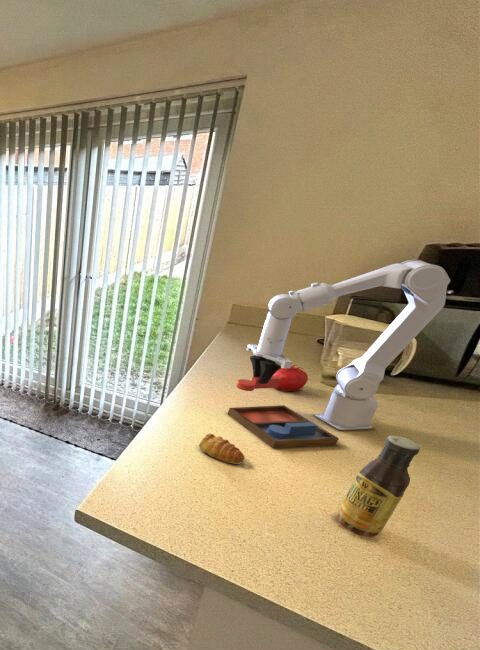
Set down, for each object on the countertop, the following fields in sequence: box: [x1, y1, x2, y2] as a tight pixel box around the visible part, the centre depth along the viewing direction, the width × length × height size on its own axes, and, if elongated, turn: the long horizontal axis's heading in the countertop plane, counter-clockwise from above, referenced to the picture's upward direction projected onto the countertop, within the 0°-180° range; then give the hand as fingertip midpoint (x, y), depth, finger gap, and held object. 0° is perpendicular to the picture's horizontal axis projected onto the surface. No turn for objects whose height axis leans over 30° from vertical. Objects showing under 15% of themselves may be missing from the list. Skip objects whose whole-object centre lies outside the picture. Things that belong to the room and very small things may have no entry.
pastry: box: [198, 433, 246, 465], centre depth 96 cm, size 9×7×4 cm
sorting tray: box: [227, 404, 340, 449], centre depth 107 cm, size 17×17×2 cm
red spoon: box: [235, 376, 280, 392], centre depth 115 cm, size 12×4×3 cm, turn 92°
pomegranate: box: [273, 361, 309, 392], centre depth 128 cm, size 10×10×9 cm
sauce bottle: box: [336, 435, 421, 538], centre depth 71 cm, size 7×6×20 cm
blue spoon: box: [267, 421, 319, 439], centre depth 102 cm, size 12×4×3 cm, turn 93°
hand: (260, 381), depth 115 cm, fingers closed on red spoon, 2 cm apart
